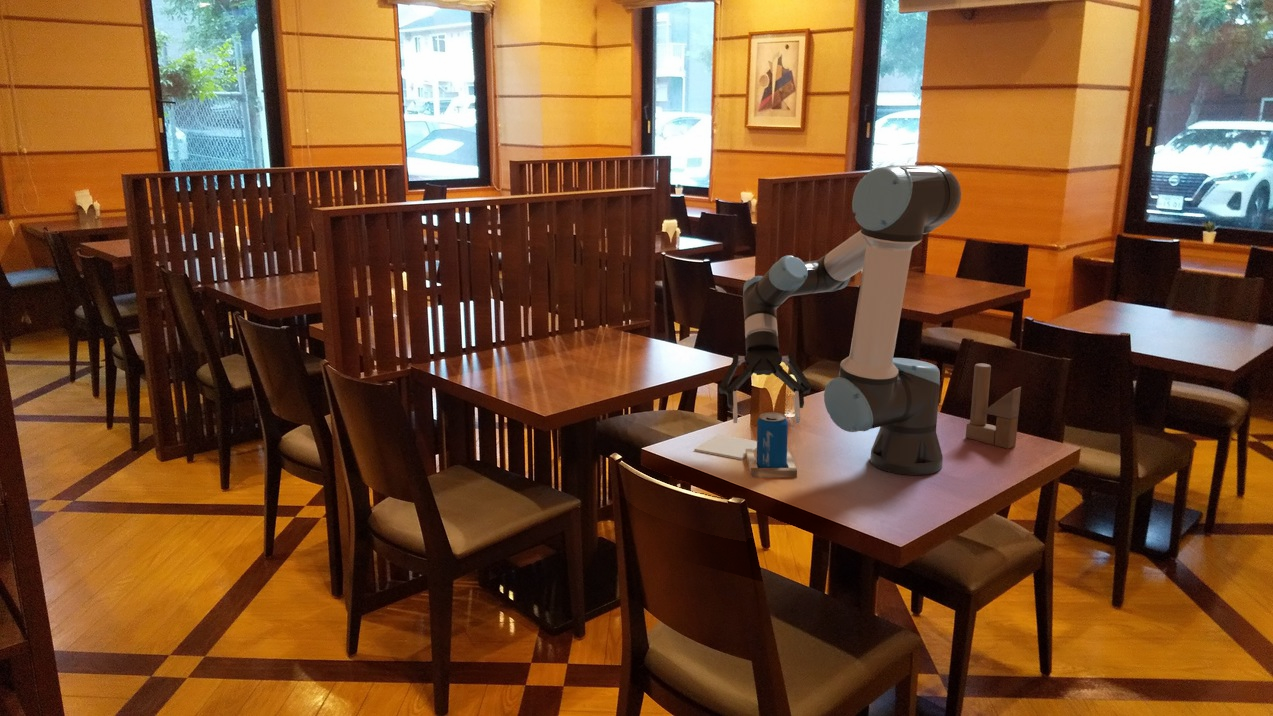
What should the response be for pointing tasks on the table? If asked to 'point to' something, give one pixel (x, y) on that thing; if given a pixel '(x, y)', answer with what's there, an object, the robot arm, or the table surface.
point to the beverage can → (772, 440)
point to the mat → (727, 446)
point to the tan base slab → (770, 472)
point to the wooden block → (992, 412)
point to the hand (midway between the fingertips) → (766, 420)
